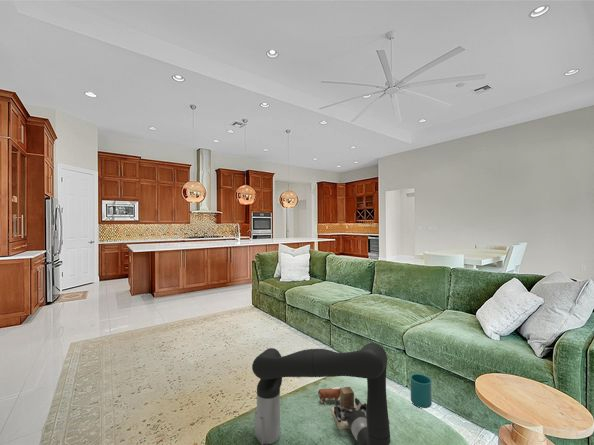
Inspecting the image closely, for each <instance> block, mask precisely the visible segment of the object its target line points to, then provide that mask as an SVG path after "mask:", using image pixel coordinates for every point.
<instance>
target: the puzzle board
mask: <svg viewBox="0 0 594 445" xmlns="http://www.w3.org/2000/svg"><path fill="white" fill-rule="evenodd" d="M364 403H366V404H367V402H364ZM364 403H363V402H362V404H364ZM334 407H335V406H332V407H330V412H331V414H332V417H333V419H334V421H335V423H336V426H337V428H338V430H339V431H342V430H343V431H344V430H351V429H350V427H349V425H348V423H347V421H343V420H341V422H338V420H337V418H336V416H335V415H334ZM354 408H357V405H356V404H355V403H354ZM362 411H363V412H364V413H365V411H364V409H362ZM390 421H391V420H390V418H389V424H390V423H391V422H390Z"/></svg>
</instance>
